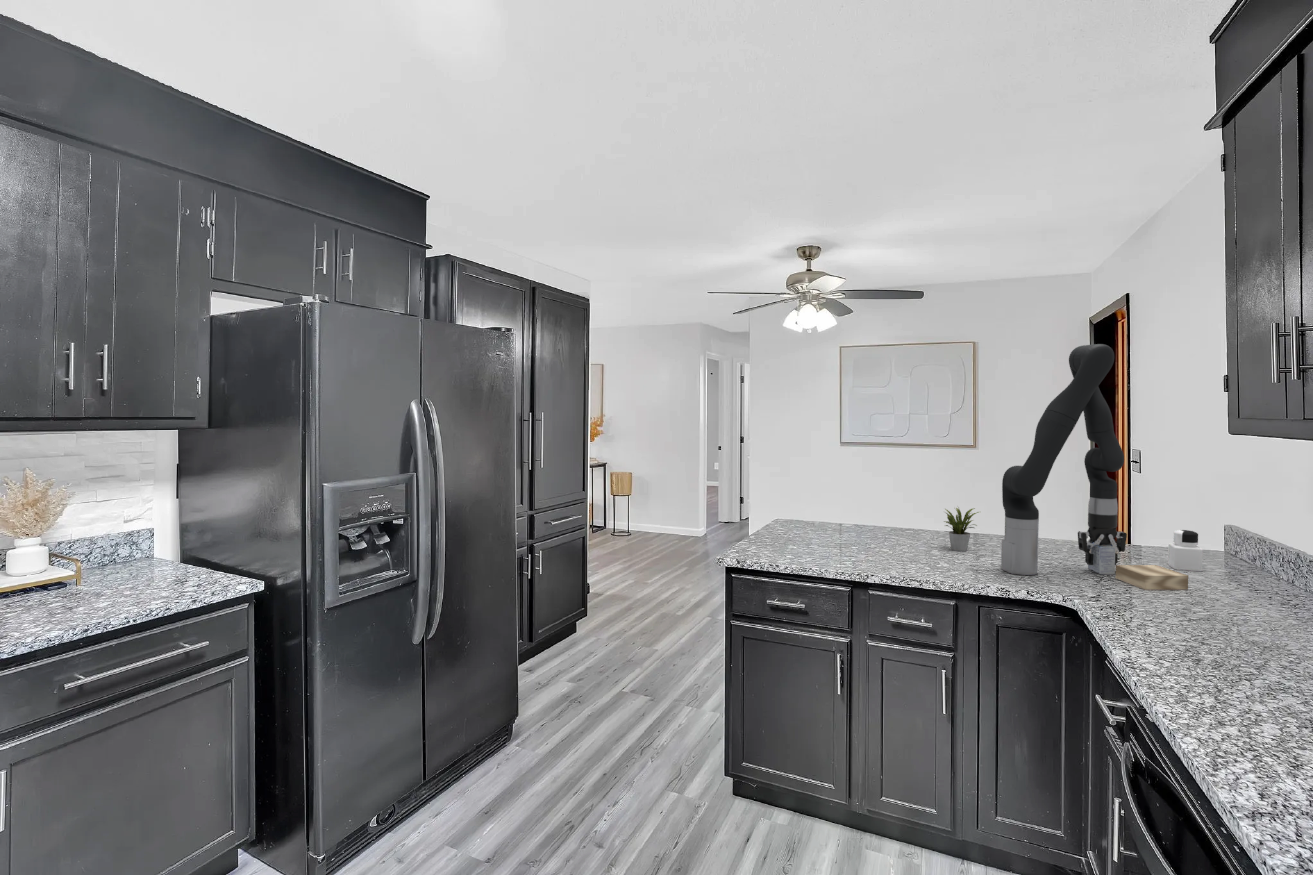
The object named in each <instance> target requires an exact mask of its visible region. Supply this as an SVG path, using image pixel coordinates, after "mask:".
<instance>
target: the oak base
mask: <svg viewBox="0 0 1313 875" xmlns="http://www.w3.org/2000/svg"><path fill="white" fill-rule="evenodd" d="M1115 579H1116V580H1119V581H1121V582H1124V583H1126V584H1128V585H1132V586H1133V587H1137V588H1140V589H1142V590H1144V591H1145V590H1146V591H1150V590H1151V591H1155V590H1156V591H1157V590H1159V591H1162V590H1164V591H1165V590H1166V591H1167V590H1168V591H1169V590H1171V591H1173V590H1174V591H1175V590H1178V591H1179V590H1180V591H1183V590H1189V575H1188V574H1185V573H1181V572H1178V571H1177V570H1176V571H1175V570H1172V569H1170V568H1167V567H1163V566H1161V565H1157V564H1152V565H1151V564H1147V565H1146V564H1134V565H1133V564H1127V565H1126V564H1120V565H1119V564H1116V565H1115Z"/></svg>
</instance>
